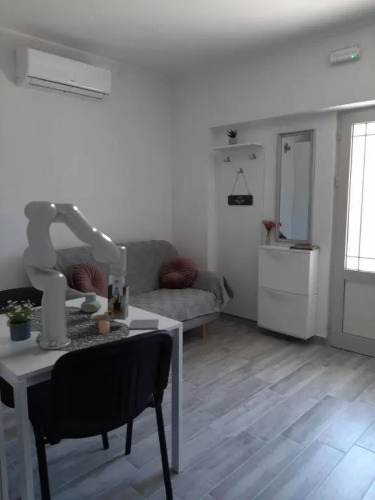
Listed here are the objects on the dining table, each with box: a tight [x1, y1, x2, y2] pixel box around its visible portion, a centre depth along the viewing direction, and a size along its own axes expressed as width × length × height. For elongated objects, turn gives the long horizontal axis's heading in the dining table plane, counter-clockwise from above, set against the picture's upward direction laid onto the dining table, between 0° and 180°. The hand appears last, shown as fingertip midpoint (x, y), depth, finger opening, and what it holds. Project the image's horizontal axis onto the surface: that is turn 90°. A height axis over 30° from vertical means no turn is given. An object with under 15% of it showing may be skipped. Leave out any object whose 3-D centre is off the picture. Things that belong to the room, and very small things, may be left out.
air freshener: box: [80, 291, 102, 314], centre depth 213 cm, size 11×8×10 cm
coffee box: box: [107, 284, 130, 321], centre depth 187 cm, size 9×6×16 cm
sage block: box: [103, 308, 117, 322], centre depth 197 cm, size 5×5×5 cm
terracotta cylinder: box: [98, 320, 111, 335], centre depth 179 cm, size 5×5×5 cm
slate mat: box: [129, 318, 159, 331], centre depth 189 cm, size 13×13×1 cm
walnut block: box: [94, 314, 107, 329], centre depth 188 cm, size 5×5×5 cm
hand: (118, 308), depth 187 cm, fingers closed on coffee box, 6 cm apart
